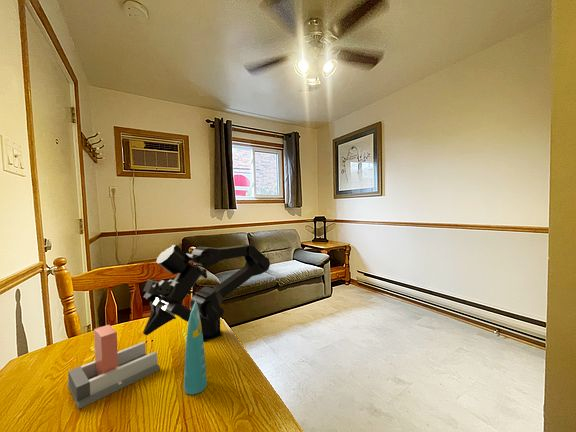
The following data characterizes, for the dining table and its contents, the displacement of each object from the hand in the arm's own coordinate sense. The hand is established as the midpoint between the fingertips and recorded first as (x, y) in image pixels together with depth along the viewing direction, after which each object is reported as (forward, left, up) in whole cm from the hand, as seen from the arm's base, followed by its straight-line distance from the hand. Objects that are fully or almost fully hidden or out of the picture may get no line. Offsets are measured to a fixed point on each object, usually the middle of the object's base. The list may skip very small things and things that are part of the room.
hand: (144, 334), depth 65 cm
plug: (+8, +2, -7) cm, 11 cm away
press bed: (+7, +2, -8) cm, 10 cm away
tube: (-9, +17, -8) cm, 21 cm away
